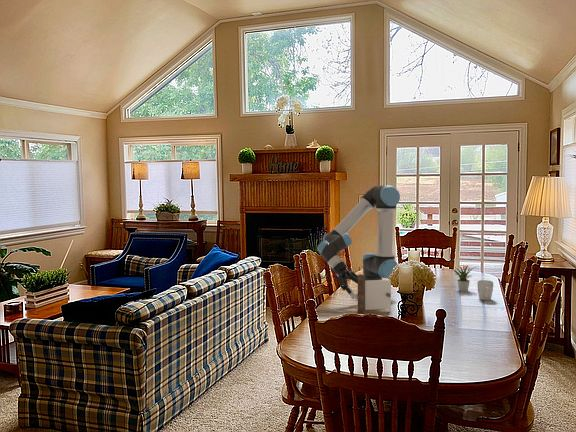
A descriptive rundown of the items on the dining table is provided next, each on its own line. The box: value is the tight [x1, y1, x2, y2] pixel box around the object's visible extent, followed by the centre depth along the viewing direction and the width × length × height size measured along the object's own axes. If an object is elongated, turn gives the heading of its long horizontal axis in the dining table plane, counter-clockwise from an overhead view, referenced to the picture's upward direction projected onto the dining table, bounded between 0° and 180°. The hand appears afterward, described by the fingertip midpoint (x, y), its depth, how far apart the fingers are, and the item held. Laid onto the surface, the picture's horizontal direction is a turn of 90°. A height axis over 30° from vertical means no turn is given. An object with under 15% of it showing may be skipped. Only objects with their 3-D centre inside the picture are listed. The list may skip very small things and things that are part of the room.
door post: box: [357, 273, 366, 315], centre depth 264 cm, size 2×3×20 cm
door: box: [365, 279, 392, 311], centre depth 266 cm, size 14×3×15 cm, turn 98°
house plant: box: [453, 264, 476, 292], centre depth 315 cm, size 14×14×16 cm
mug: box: [476, 279, 494, 301], centre depth 291 cm, size 11×8×10 cm
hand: (361, 295), depth 278 cm, fingers open, 13 cm apart
